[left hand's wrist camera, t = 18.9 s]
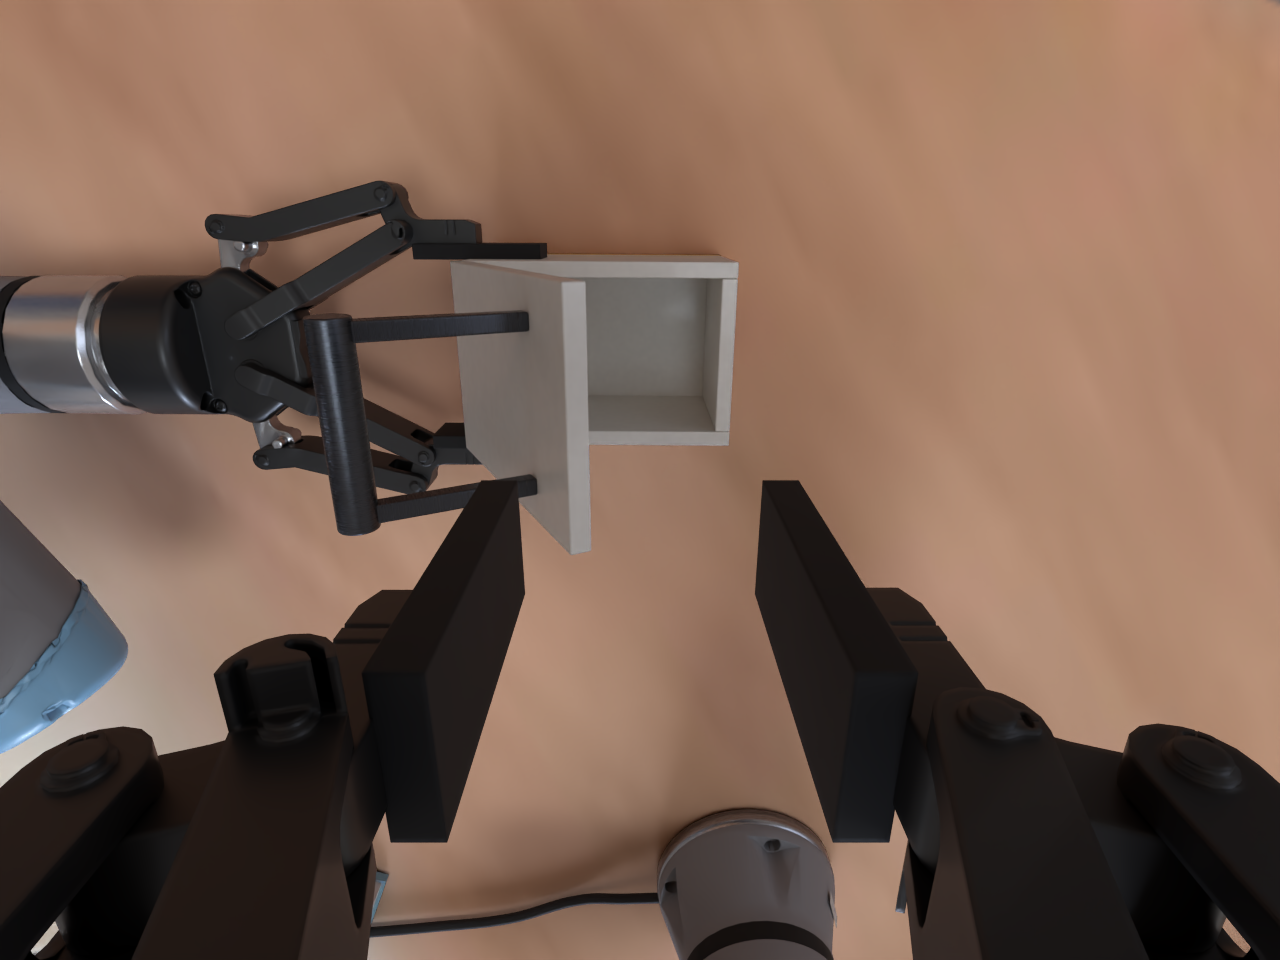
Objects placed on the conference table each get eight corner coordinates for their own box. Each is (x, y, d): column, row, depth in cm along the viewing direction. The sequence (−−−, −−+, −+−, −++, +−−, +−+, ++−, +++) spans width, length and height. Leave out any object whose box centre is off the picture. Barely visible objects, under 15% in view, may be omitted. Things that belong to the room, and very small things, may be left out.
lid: (586, 280, 21) (303, 289, 18) (591, 551, 25) (355, 605, 21) (467, 260, 33) (282, 263, 29) (481, 445, 36) (317, 469, 33)
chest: (719, 254, 42) (739, 261, 33) (712, 405, 45) (729, 446, 37) (497, 253, 42) (460, 260, 33) (506, 403, 45) (475, 444, 37)
